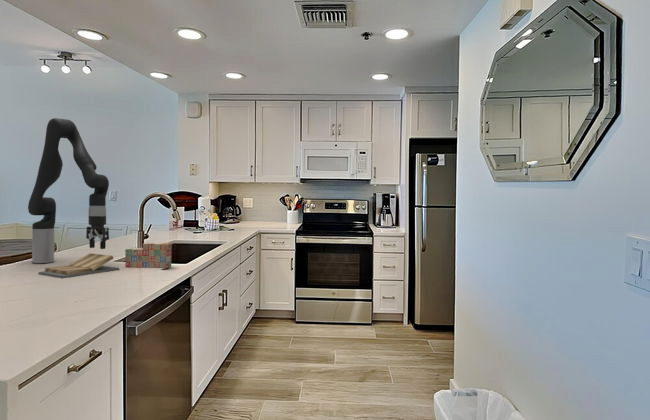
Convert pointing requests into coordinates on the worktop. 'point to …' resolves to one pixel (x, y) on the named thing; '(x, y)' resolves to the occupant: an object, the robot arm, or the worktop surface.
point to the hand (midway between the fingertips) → (97, 248)
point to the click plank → (92, 261)
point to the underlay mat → (98, 270)
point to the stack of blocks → (149, 256)
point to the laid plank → (68, 269)
